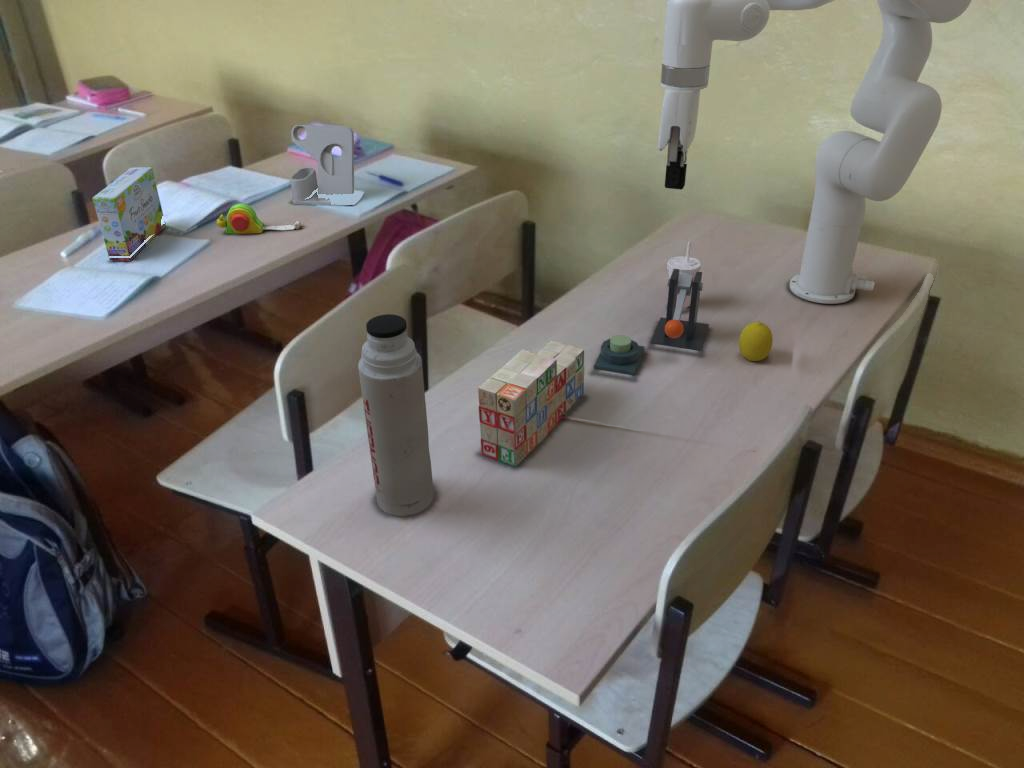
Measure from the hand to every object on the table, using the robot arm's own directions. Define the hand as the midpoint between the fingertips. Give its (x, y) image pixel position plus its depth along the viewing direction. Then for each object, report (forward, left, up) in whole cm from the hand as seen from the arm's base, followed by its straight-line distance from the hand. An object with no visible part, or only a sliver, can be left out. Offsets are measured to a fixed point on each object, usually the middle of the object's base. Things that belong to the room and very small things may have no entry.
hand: (674, 187), depth 141 cm
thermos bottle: (+25, +60, -27) cm, 70 cm away
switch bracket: (-4, +4, -27) cm, 28 cm away
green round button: (+5, +16, -24) cm, 29 cm away
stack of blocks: (+13, +38, -27) cm, 49 cm away
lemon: (-17, +8, -27) cm, 33 cm away
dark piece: (+5, +16, -27) cm, 32 cm away
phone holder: (+96, -42, -27) cm, 108 cm away
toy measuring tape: (+101, -18, -27) cm, 106 cm away
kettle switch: (-4, +8, -20) cm, 22 cm away
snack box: (+124, -3, -27) cm, 127 cm away
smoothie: (-2, -8, -27) cm, 29 cm away
